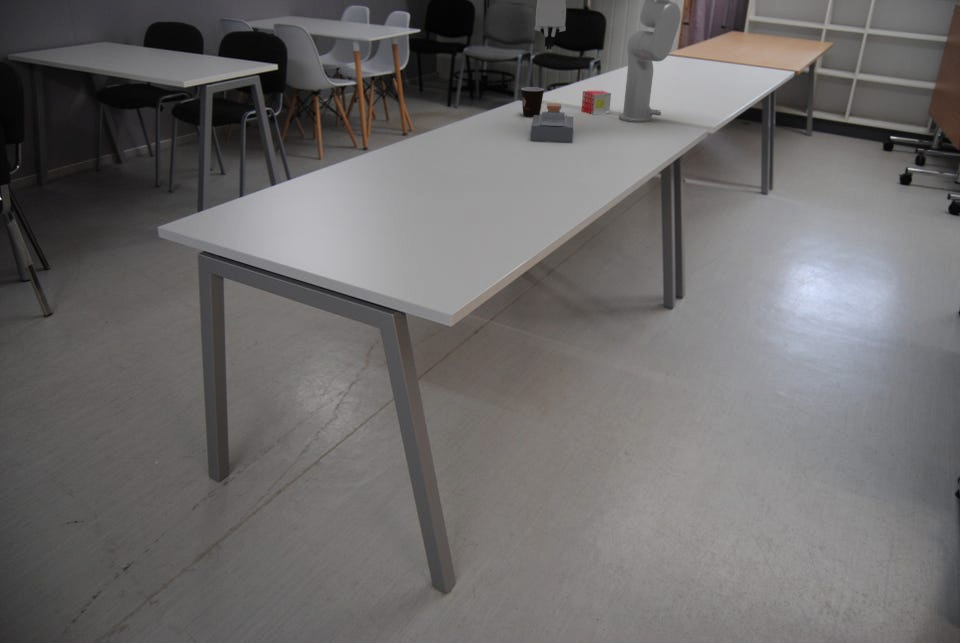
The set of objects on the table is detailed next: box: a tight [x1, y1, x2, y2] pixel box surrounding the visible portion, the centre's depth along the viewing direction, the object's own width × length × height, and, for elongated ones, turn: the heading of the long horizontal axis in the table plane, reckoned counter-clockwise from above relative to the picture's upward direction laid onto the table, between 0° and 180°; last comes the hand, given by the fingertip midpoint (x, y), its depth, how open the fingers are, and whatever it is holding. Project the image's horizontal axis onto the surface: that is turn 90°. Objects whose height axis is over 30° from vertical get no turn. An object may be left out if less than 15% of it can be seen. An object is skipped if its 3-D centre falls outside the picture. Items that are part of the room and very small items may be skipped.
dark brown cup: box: [520, 86, 545, 118], centre depth 286 cm, size 12×9×10 cm
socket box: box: [530, 113, 574, 143], centre depth 256 cm, size 14×18×6 cm
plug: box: [546, 102, 562, 112], centre depth 258 cm, size 5×5×10 cm
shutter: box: [541, 111, 566, 126], centre depth 250 cm, size 8×8×3 cm
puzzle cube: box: [581, 89, 612, 116], centre depth 293 cm, size 8×8×8 cm
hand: (548, 48), depth 256 cm, fingers closed
